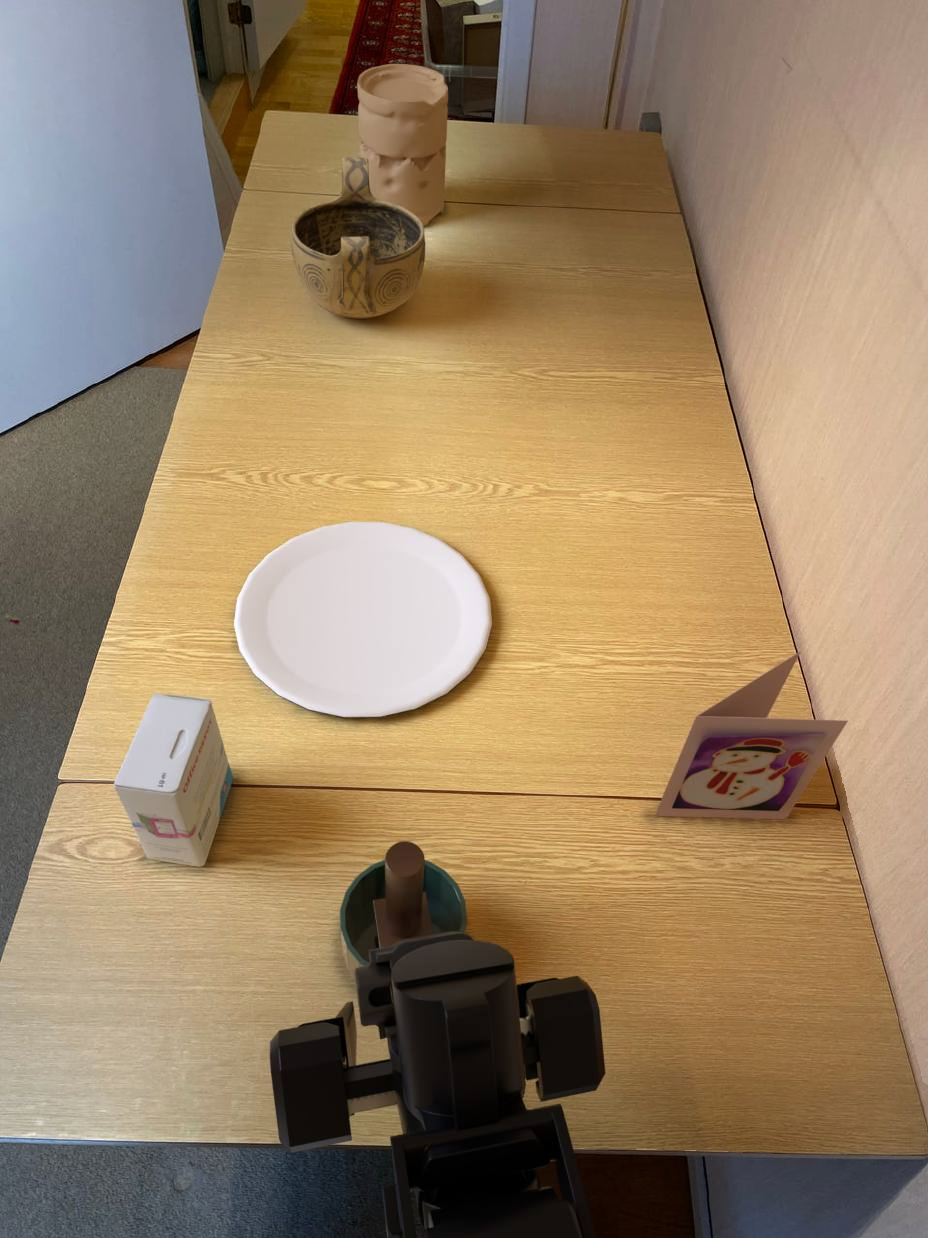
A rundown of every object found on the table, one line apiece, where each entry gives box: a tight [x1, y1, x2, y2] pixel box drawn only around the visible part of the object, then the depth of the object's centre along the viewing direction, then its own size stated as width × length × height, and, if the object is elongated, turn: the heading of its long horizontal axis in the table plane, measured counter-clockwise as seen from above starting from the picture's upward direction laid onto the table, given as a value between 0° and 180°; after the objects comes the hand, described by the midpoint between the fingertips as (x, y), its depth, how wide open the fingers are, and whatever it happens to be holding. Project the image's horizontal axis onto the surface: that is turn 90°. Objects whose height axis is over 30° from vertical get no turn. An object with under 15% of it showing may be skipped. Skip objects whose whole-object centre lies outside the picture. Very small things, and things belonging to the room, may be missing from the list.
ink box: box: [113, 693, 234, 868], centre depth 77 cm, size 9×5×12 cm, turn 172°
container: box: [356, 63, 449, 227], centre depth 142 cm, size 13×13×18 cm
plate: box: [233, 521, 493, 719], centre depth 96 cm, size 25×25×1 cm
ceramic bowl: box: [291, 156, 426, 320], centre depth 126 cm, size 22×17×15 cm
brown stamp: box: [373, 840, 434, 948], centre depth 70 cm, size 4×4×14 cm
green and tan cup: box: [339, 859, 468, 984], centre depth 73 cm, size 9×9×6 cm
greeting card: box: [654, 650, 849, 820], centre depth 80 cm, size 11×7×15 cm, turn 90°
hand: (420, 996), depth 64 cm, fingers open, 9 cm apart
